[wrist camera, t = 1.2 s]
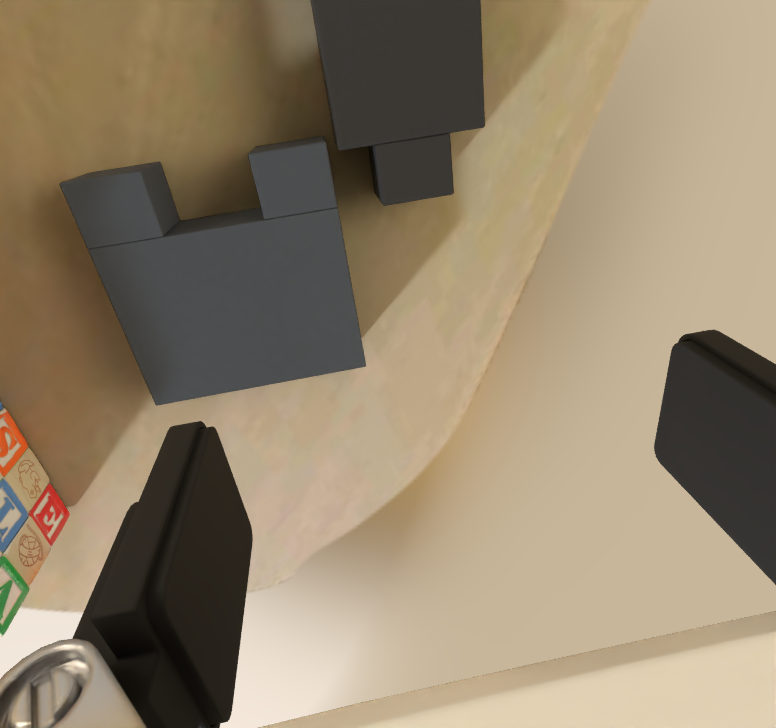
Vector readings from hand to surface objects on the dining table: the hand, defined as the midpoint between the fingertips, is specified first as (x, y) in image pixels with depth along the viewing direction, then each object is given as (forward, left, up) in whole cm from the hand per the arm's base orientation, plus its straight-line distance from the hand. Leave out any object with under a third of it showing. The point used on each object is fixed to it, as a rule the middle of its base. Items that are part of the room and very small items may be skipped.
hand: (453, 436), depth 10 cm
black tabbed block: (-8, +3, -20) cm, 22 cm away
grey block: (+2, -7, -21) cm, 22 cm away
